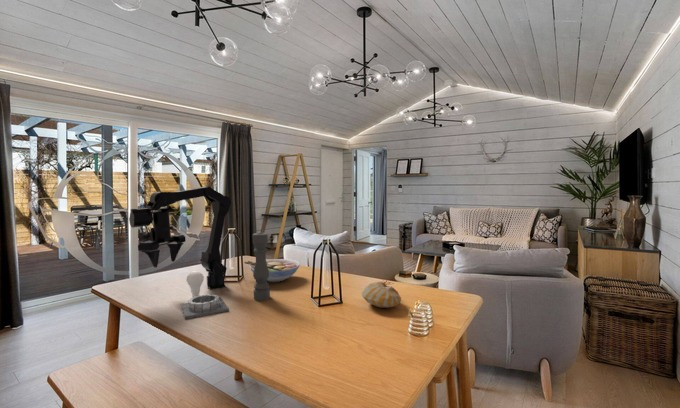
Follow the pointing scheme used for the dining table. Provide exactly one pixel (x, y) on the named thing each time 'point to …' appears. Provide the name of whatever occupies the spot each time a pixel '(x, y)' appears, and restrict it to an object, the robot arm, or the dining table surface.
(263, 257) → the candle holder
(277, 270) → the ramen bowl
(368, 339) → the dining table surface
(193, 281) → the lightbulb
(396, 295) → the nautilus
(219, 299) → the bulb socket
